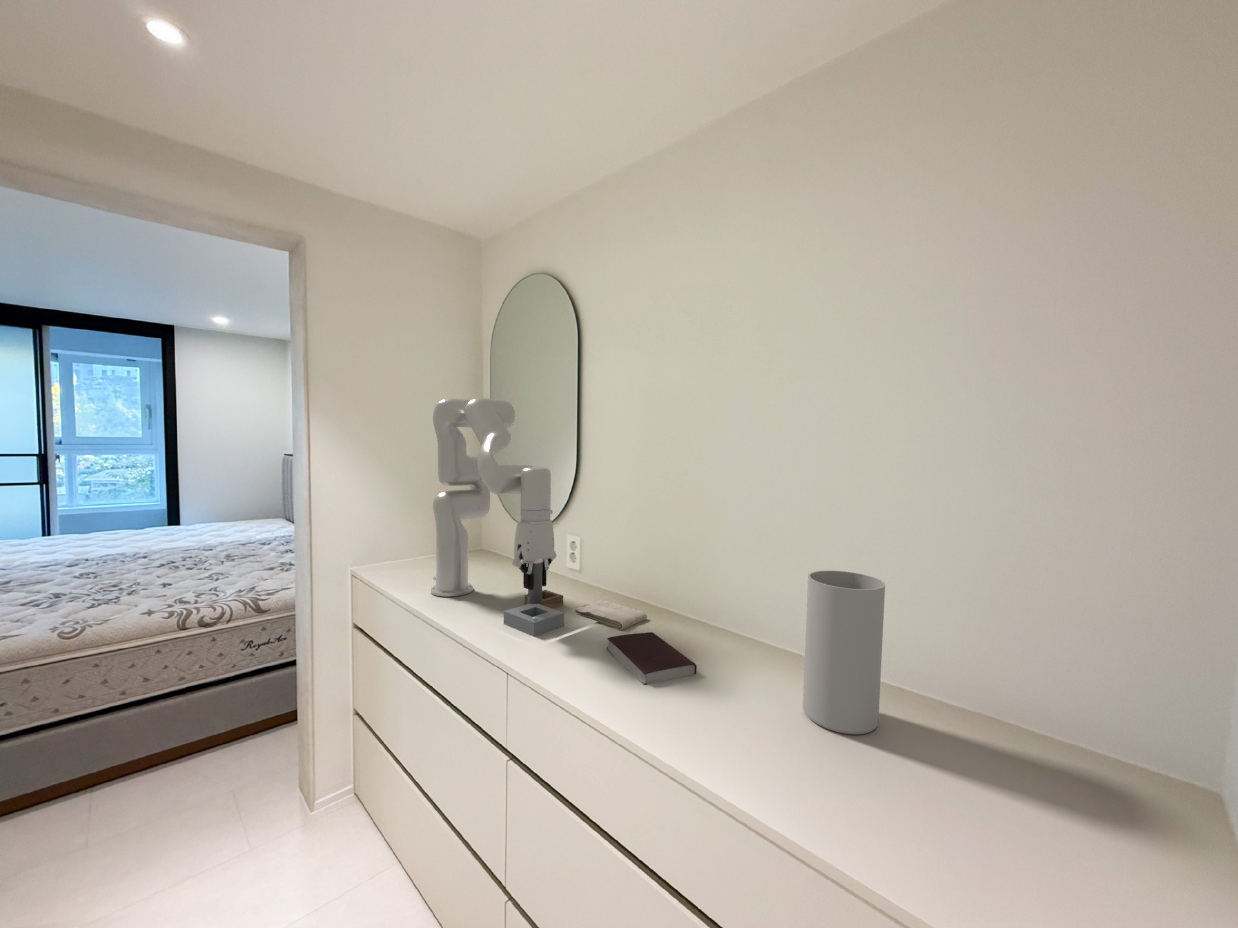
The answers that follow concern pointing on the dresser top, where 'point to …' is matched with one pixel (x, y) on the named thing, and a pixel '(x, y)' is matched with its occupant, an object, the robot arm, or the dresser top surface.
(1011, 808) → the dresser top surface
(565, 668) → the dresser top surface
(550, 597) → the holster
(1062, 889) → the dresser top surface
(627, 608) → the washcloth
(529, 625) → the port
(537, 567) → the grey and white cylinder
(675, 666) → the book
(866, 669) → the cylinder vase
